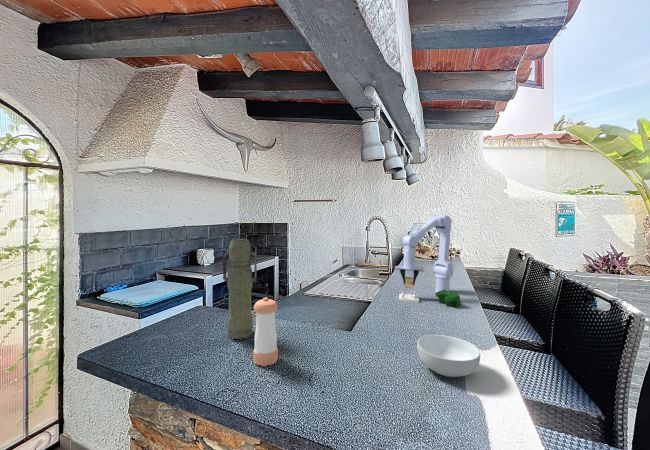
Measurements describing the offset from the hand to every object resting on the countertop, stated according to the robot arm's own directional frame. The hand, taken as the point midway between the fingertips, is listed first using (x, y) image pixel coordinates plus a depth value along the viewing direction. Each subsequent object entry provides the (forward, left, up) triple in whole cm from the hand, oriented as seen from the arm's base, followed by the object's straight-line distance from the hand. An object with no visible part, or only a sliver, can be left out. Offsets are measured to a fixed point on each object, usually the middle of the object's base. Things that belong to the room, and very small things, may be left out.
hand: (409, 284), depth 155 cm
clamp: (+3, +18, -8) cm, 20 cm away
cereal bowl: (+70, +12, -8) cm, 71 cm away
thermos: (+67, -58, -8) cm, 89 cm away
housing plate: (0, 0, -8) cm, 8 cm away
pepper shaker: (+81, -40, -8) cm, 91 cm away
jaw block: (0, 0, -2) cm, 2 cm away
